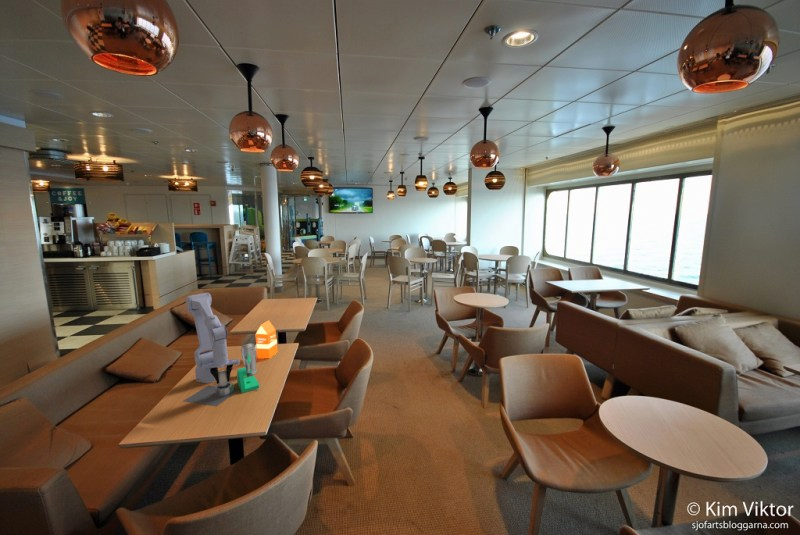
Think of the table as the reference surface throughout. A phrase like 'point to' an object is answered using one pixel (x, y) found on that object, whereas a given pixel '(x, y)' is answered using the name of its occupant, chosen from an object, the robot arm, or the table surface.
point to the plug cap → (222, 378)
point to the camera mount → (246, 381)
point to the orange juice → (266, 340)
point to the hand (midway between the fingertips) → (223, 381)
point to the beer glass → (249, 358)
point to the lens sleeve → (224, 390)
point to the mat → (208, 397)
